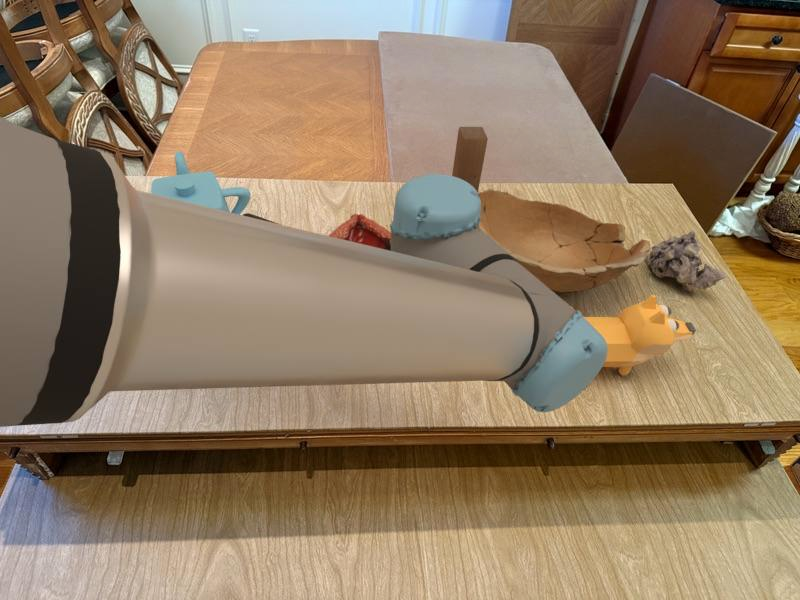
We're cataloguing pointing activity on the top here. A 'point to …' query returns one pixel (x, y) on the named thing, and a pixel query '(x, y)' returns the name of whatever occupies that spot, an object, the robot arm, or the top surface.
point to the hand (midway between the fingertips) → (162, 235)
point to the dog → (640, 334)
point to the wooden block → (470, 155)
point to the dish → (363, 232)
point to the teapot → (198, 188)
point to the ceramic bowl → (558, 241)
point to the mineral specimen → (683, 263)
